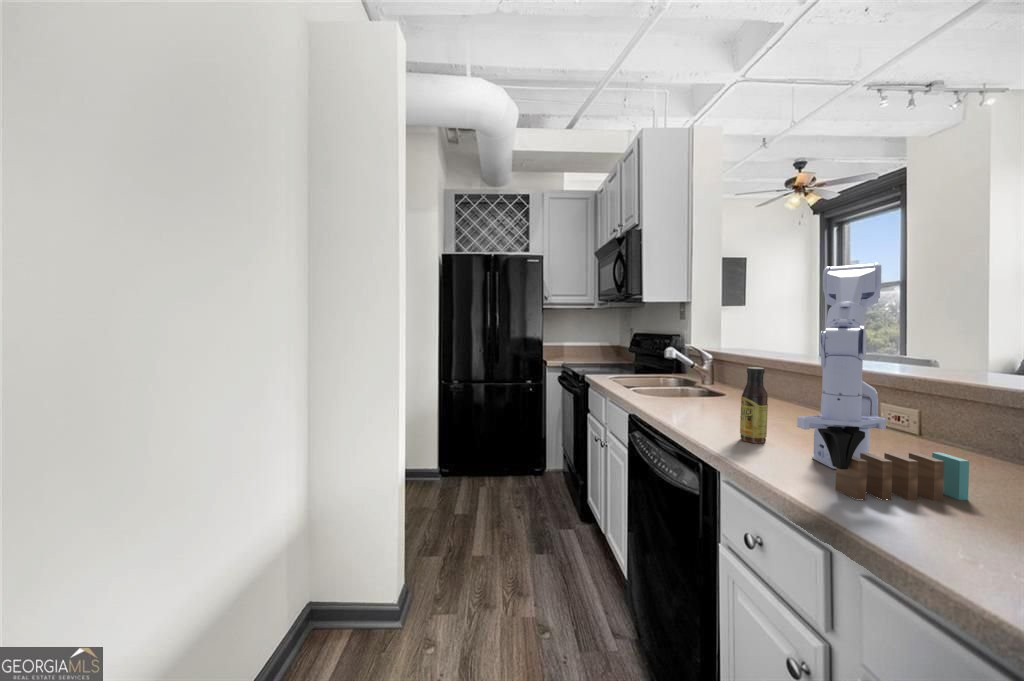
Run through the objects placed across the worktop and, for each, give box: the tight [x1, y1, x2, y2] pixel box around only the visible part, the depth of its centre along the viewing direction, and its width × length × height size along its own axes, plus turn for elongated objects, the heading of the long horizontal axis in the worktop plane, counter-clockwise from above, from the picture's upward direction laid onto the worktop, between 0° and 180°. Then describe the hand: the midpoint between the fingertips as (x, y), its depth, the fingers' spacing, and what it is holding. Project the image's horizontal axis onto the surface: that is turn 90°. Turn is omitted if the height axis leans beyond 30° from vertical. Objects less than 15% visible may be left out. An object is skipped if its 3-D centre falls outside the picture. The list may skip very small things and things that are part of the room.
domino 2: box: [860, 452, 892, 501], centre depth 77 cm, size 2×5×7 cm, turn 179°
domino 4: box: [908, 452, 944, 501], centre depth 77 cm, size 2×5×7 cm, turn 179°
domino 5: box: [931, 452, 970, 501], centre depth 77 cm, size 2×5×7 cm, turn 179°
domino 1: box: [834, 456, 868, 501], centre depth 77 cm, size 2×5×7 cm, turn 179°
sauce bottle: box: [739, 366, 769, 444], centre depth 113 cm, size 7×6×20 cm
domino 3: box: [883, 452, 918, 501], centre depth 77 cm, size 2×5×7 cm, turn 179°
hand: (840, 467), depth 77 cm, fingers closed
